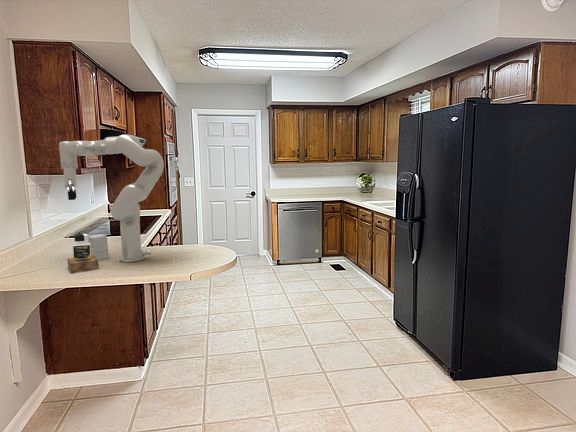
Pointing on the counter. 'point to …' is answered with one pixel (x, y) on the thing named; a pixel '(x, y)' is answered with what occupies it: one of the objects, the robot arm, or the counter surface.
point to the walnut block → (83, 264)
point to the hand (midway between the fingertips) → (72, 198)
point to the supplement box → (99, 246)
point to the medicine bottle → (82, 247)
